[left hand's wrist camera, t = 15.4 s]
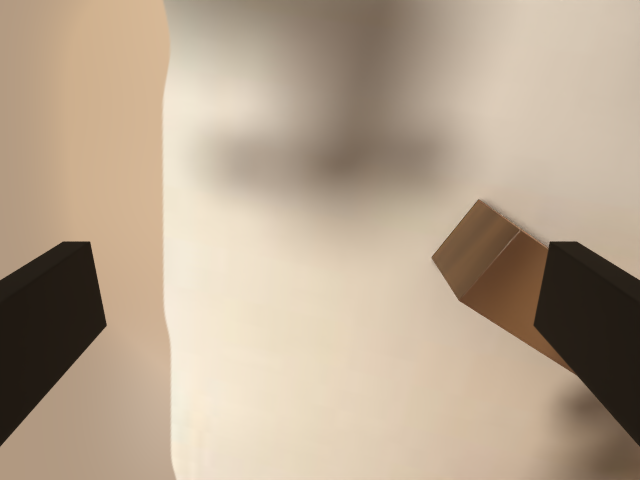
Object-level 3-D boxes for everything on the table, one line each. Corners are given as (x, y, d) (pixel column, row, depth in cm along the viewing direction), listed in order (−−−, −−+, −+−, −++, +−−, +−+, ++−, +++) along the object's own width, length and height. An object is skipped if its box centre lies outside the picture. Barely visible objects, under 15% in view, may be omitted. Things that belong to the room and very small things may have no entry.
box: (431, 257, 42) (458, 300, 34) (478, 199, 40) (520, 229, 31) (601, 367, 46) (662, 429, 38) (651, 320, 44) (728, 375, 36)
